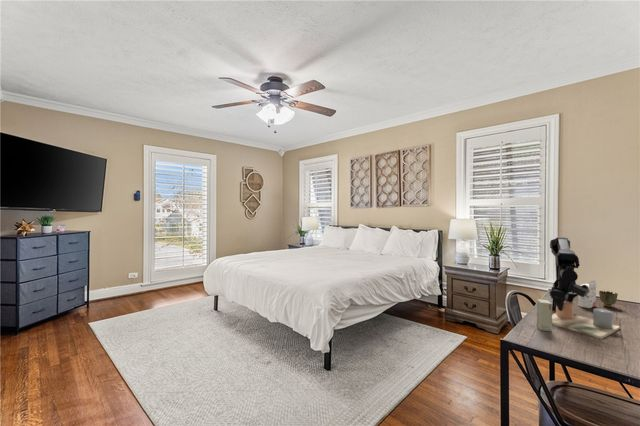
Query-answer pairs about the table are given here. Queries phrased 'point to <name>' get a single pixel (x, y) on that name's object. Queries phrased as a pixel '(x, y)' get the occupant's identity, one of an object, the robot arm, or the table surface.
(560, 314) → the peach domed cylinder
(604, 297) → the cup
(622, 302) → the table surface
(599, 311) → the grey rounded piece
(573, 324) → the birch board
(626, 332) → the table surface
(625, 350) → the table surface
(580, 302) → the ink cartridge box
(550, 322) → the skincare box
